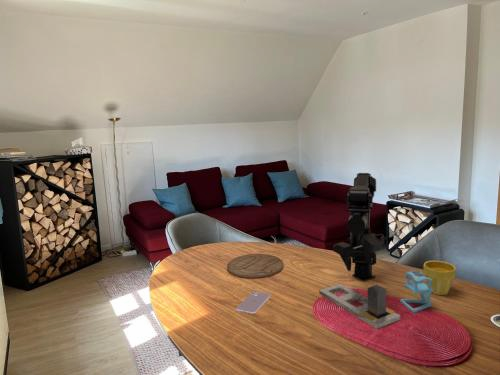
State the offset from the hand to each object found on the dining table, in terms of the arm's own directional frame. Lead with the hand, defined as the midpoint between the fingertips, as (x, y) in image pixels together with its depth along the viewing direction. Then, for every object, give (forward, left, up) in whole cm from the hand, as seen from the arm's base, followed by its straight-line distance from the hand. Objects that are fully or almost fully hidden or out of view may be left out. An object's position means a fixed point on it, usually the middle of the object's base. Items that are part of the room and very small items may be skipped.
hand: (358, 267), depth 133 cm
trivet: (+16, -47, -12) cm, 51 cm away
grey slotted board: (+4, +4, -12) cm, 13 cm away
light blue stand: (-13, +15, -12) cm, 23 cm away
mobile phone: (+33, -19, -12) cm, 40 cm away
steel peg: (+4, +12, -12) cm, 18 cm away
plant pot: (-28, +12, -12) cm, 32 cm away
